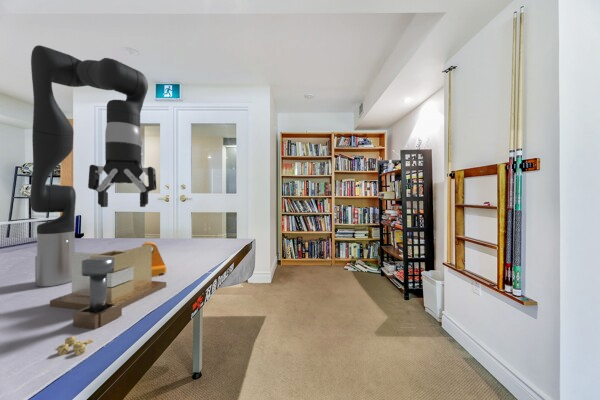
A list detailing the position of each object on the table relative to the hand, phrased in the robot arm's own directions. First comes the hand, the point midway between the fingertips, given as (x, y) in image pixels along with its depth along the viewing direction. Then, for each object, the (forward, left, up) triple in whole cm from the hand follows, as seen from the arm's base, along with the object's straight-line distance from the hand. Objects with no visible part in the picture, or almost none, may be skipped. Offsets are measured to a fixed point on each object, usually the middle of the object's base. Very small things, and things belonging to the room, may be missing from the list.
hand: (124, 206), depth 63 cm
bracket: (-18, +28, -27) cm, 43 cm away
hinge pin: (-2, -5, -27) cm, 27 cm away
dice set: (+4, -15, -28) cm, 32 cm away
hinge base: (-10, +5, -27) cm, 29 cm away
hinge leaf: (-13, +4, -25) cm, 28 cm away
